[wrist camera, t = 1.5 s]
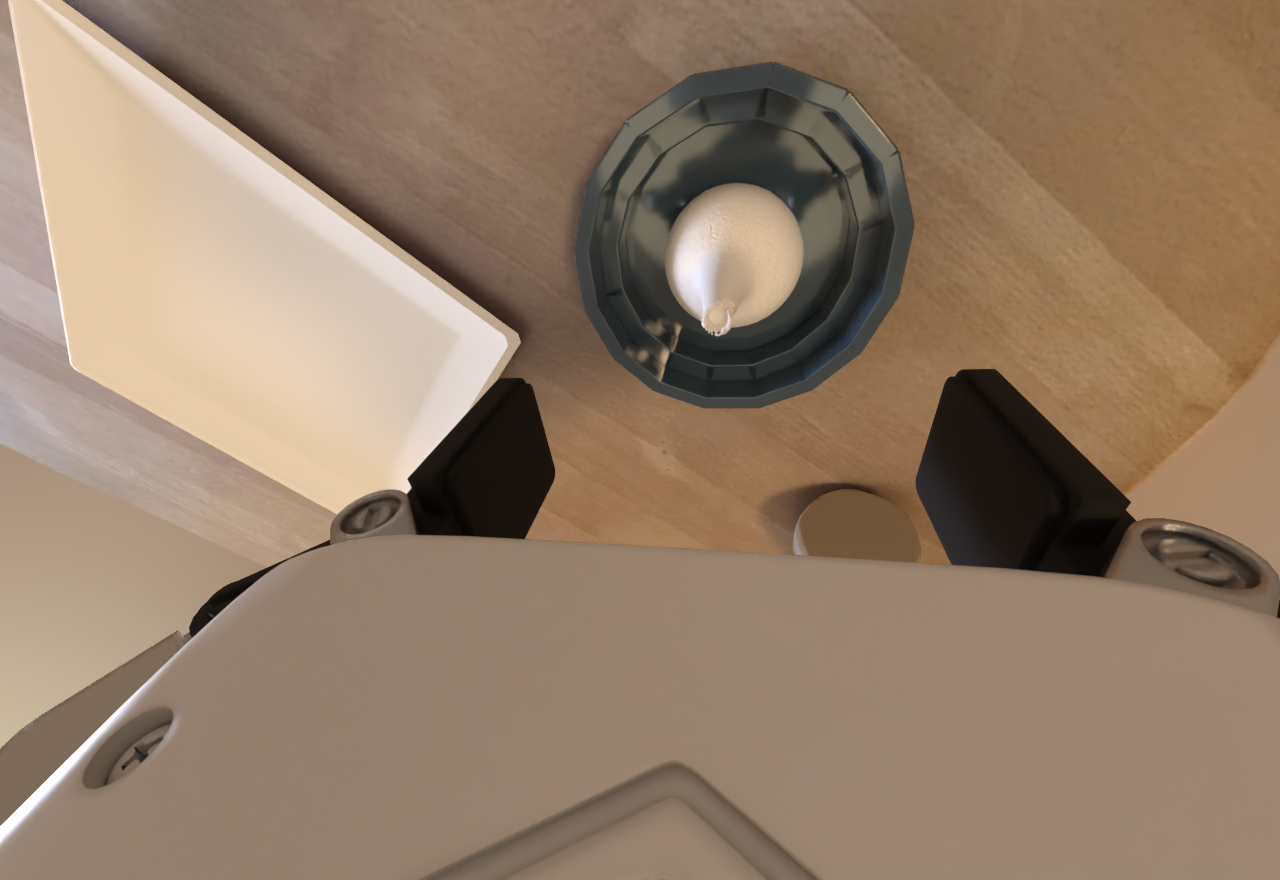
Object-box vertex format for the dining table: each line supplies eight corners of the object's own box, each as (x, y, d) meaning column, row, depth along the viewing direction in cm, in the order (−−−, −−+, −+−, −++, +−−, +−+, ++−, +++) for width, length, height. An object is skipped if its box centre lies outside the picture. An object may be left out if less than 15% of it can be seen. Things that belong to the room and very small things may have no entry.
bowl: (575, 98, 20) (544, 96, 17) (917, 46, 17) (958, 32, 14) (618, 374, 28) (602, 409, 25) (857, 370, 25) (874, 408, 22)
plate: (98, 356, 35) (66, 368, 34) (52, -35, 21) (-7, -46, 19) (404, 529, 42) (390, 547, 40) (535, 325, 27) (522, 339, 25)
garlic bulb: (828, 224, 21) (866, 277, 15) (748, 334, 25) (751, 413, 18) (712, 149, 20) (699, 170, 14) (647, 275, 24) (614, 337, 17)
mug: (786, 579, 37) (769, 646, 28) (809, 465, 35) (799, 496, 26) (889, 610, 34) (906, 695, 25) (920, 487, 32) (951, 530, 23)
